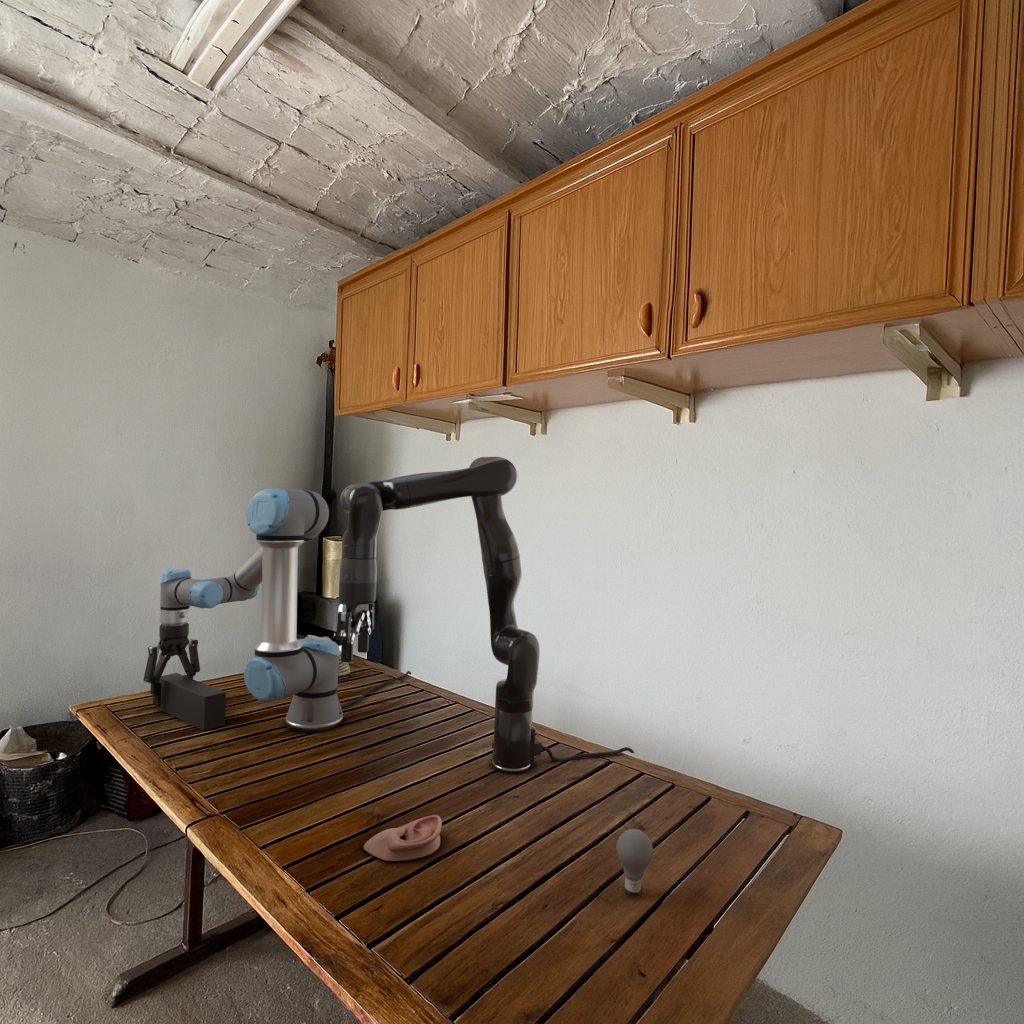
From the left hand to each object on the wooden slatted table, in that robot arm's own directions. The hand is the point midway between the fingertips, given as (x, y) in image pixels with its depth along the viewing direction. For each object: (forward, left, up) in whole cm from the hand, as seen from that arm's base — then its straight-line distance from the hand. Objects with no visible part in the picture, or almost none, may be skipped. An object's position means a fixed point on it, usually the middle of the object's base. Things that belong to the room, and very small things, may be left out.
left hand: (171, 701), depth 183 cm
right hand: (-1, +82, +28) cm, 87 cm away
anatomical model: (+3, +103, -2) cm, 103 cm away
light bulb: (-14, +141, -2) cm, 142 cm away
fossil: (-48, +4, -2) cm, 48 cm away
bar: (0, +10, -2) cm, 10 cm away
